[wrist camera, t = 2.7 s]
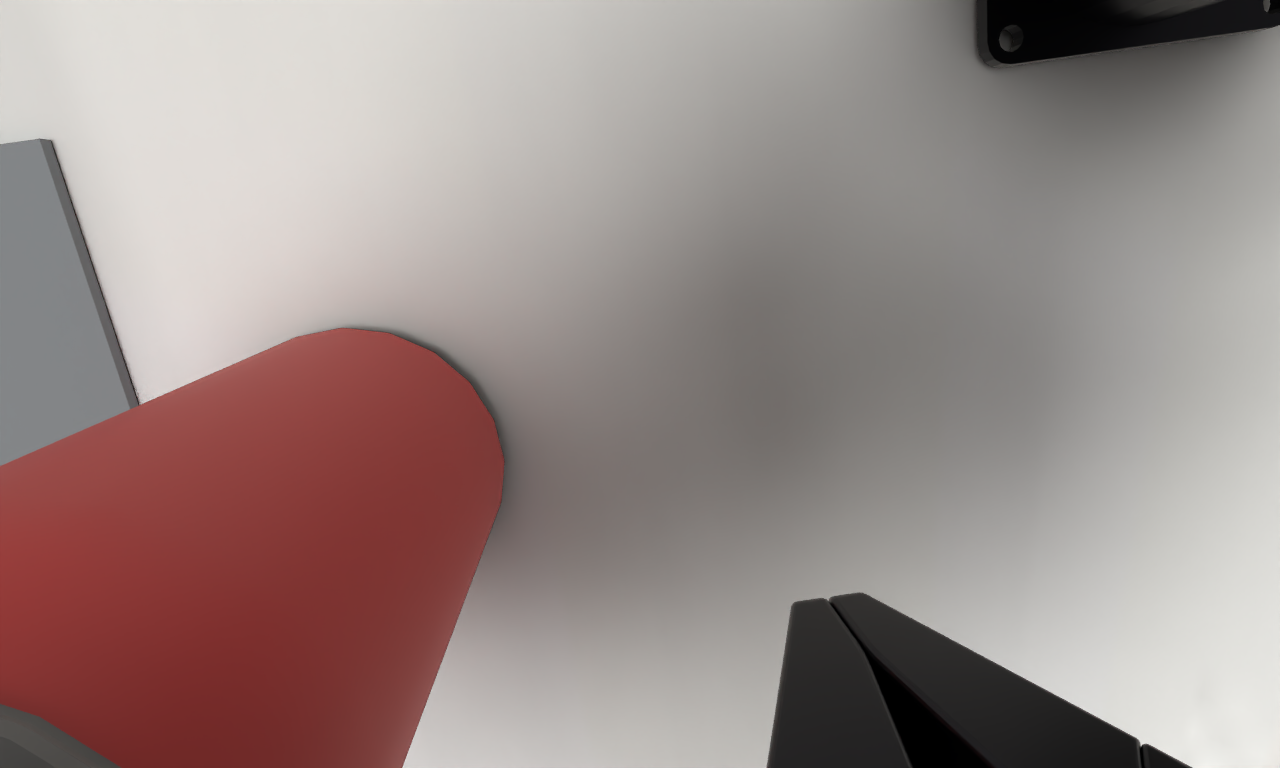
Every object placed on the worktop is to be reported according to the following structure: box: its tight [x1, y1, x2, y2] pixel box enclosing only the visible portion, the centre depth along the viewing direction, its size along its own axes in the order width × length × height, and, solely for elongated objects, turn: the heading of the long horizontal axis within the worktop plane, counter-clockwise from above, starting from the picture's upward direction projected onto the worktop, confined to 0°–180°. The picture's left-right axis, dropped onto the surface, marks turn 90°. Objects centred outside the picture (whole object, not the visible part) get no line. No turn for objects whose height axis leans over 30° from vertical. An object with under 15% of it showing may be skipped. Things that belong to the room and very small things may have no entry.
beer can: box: [0, 328, 505, 768], centre depth 11 cm, size 7×7×12 cm
